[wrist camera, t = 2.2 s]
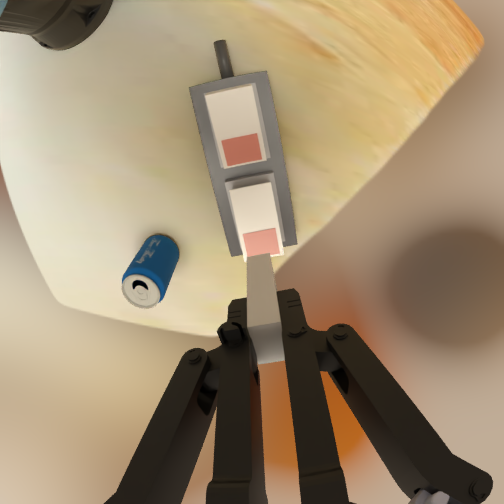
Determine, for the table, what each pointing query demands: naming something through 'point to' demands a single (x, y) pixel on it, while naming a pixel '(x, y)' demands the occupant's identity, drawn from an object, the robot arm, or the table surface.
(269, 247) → the rocker
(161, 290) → the beverage can
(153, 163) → the table surface
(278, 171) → the power strip
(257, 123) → the rocker
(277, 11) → the table surface
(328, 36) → the table surface
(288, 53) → the table surface
